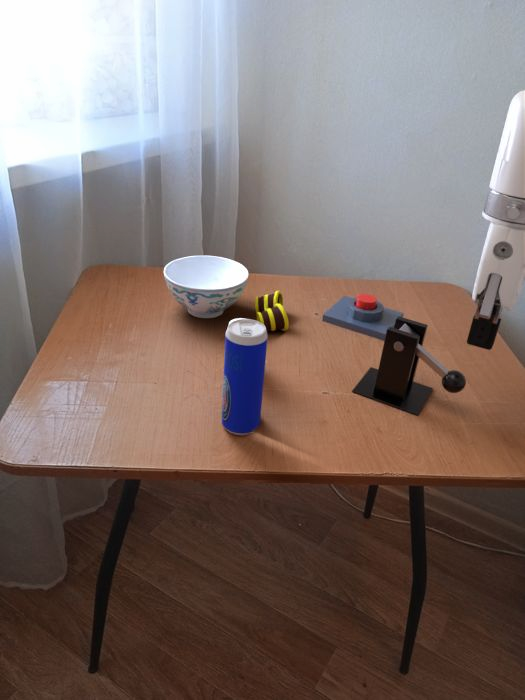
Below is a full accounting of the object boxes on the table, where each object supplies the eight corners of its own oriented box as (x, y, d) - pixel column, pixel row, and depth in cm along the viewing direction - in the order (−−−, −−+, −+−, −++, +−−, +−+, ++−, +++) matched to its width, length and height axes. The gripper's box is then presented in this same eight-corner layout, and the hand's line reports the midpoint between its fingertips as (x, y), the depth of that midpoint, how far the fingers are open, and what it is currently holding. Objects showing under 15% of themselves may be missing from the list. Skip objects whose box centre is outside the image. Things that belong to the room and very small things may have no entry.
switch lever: (457, 390, 80) (473, 377, 78) (451, 401, 78) (468, 388, 76) (394, 334, 82) (408, 319, 79) (386, 343, 79) (401, 328, 77)
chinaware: (168, 331, 96) (167, 290, 92) (161, 293, 108) (160, 256, 104) (253, 327, 99) (256, 287, 95) (237, 291, 112) (239, 254, 108)
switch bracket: (431, 394, 85) (450, 326, 79) (416, 421, 79) (435, 350, 73) (369, 372, 89) (383, 306, 83) (350, 397, 83) (364, 327, 77)
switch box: (401, 323, 105) (405, 304, 103) (384, 345, 97) (388, 325, 95) (342, 305, 110) (345, 286, 108) (321, 325, 102) (324, 305, 100)
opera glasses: (256, 313, 106) (252, 290, 103) (283, 309, 106) (281, 285, 103) (260, 339, 97) (256, 314, 95) (290, 335, 97) (287, 310, 95)
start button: (378, 306, 102) (379, 297, 101) (371, 313, 100) (373, 304, 99) (359, 300, 104) (361, 292, 103) (352, 307, 101) (353, 298, 100)
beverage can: (223, 411, 78) (227, 316, 70) (260, 414, 78) (268, 319, 70) (219, 435, 73) (223, 336, 66) (258, 438, 73) (267, 339, 66)
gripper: (546, 230, 58) (499, 379, 67) (559, 199, 69) (517, 330, 78) (472, 216, 61) (437, 360, 70) (496, 189, 72) (463, 316, 81)
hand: (479, 344), depth 74 cm, fingers closed
